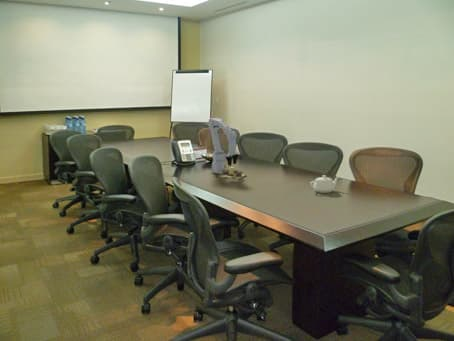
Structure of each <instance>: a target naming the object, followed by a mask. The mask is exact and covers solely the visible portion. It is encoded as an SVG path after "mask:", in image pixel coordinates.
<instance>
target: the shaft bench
mask: <svg viewBox="0 0 454 341" xmlns="http://www.w3.org/2000/svg"><path fill="white" fill-rule="evenodd" d="M222 172H223V173H222V174H219V175H217V176H218V178H220V179H221V178H223V179H230V180H240V179H243V178H245V177H247V174H244V172H243V171H242V170H237V171H235V174H236V175H235V176H234V175H229V169H225V168H224V169H223V170H222Z"/></svg>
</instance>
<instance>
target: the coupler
mask: <svg viewBox="0 0 454 341" xmlns="http://www.w3.org/2000/svg"><path fill="white" fill-rule="evenodd" d="M228 170H229V175H234V176H235V175H236V174H235V171H238V170H237V166H229V167H228Z"/></svg>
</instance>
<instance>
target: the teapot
mask: <svg viewBox="0 0 454 341" xmlns="http://www.w3.org/2000/svg"><path fill="white" fill-rule="evenodd" d="M338 179H340V177H339V176H337V177H335V179H334V180H333V178H331V177H327V175H325V174H324V175H323V174H322V176H321V177H320V176H319V177H316V178H315V180H312V181H310V183H309V184H310V187H311V188H312V189H314V191H315V192H317V193H321V194H322V193H323V194H329V193H332V192H333V191H334V190H335V186H336V185H337V181H338Z"/></svg>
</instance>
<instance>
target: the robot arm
mask: <svg viewBox="0 0 454 341" xmlns="http://www.w3.org/2000/svg"><path fill="white" fill-rule="evenodd" d="M207 123H208V124H207V125H208V128H209V131H210V133H211V134H210V135H211V140H212V144H213V148H214V151H213V152H212V163H211V171H210V172H211V173H212V174H219V175H222V174H223V172H222V170H223V169H225V161H226V162H227V165H228V166H229V167H232V165H236V164H237V162H238V158H239V157H240V155H239V151H237V138H238V137H239V135H238V132H237V131H236V130H233V129H232V128H230V126H229V125H226V124H225V123H224V121H223V119H222V118H221V117H214V118H213V117H212V118H211V117H210V118H209V119H208V121H207ZM219 129H222V132H223V133H224V134H225V135H226V138H227V142H228V153H225V151H224V150H223V149H222V147H221V142H220V137H219V133H218V130H219ZM232 163H233V164H232Z"/></svg>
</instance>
